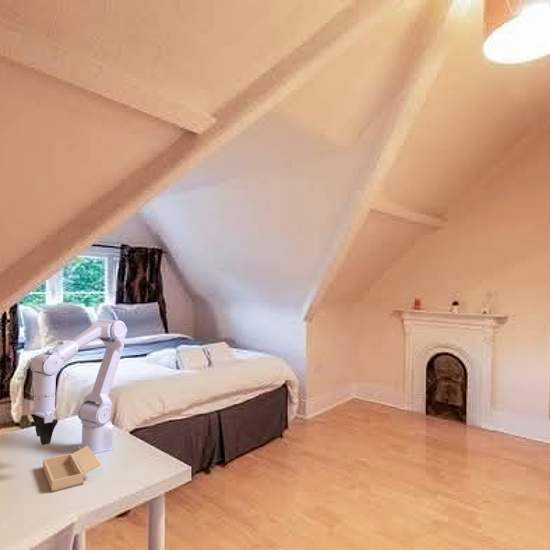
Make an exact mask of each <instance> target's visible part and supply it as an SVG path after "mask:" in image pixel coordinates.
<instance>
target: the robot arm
mask: <svg viewBox="0 0 550 550" xmlns="http://www.w3.org/2000/svg"><path fill="white" fill-rule="evenodd" d="M127 332H128V328H127V326H126V324H125V322H124V321H123V320H116V319H114V320H113V319H105V318H99V319H98V320H96V321H94V322H92V324H91V326H89V327H88V328H86V329H85V330H84V331H83V332H81V333H80V334H78V335H77V336H76V337H74V338H73V339H72V340H70V339H65V340H64V339H62V340H60V341H59V344H57V345H56V346H54V347H52V348H49V349H48V350H46V352H45V353H38V354H37V355H35V356H34V357H33V359H32V360H31V363H30V364H29V368H30V370H31V372H32V374H33V375H32V376H33V403H32V404H33V405H32V407H33V408H32V409H29V410H28V415H30V416H31V417H32V420H33V422H34V427H35V433H36V436H37V437H39V440H40V444H41V446H46V445H50V444H51V441H52V436H53V433H54V430H55V429H56V426H57V425H58V422H59V420H58V419H57V418H56V419H53V415H55V412H56V409H57V408H56V389H57V387H56V385H57V384H56V381H57V380H56V379H57V373H58V372H59V371H60V370H61V367H62V366H63V365H64V364H65V363H66V362H68V361H69V360H71V359H72V358H74V357H75V356H77V355H78V353H79V349H81V348H82V347H84V346H86V345H87V344H89V343H91V342H93V341H94V340H96V339H98V338H99V340H100V341H101V342H102V343H104V346H105V352H104V355H103V357H102V359H101V363H100V366H99V369H98V372H97V375H96V379H95V381H94V385H93V387H92V389H91V392H90V393H89V394H88V395H86V396H84V399H83V401H82V402H81V404H80V406H79V407H78V409H77V417H78V419H79V420H80V423H81V424H82V426H81V430H82V431H81V445H79V446H77V447H78V450H80V449H82V448H84V447H86V446H88V447H89V448H90V450H91V451H92V453H93V454H94V455H96V454H99V453H103V452H109V451H112V450H114V447H113V446H114V445H113V444H114V443H113V441H114V440H113V439H114V426H113V423H112V421H111V420H109V419H110V418H111V415H112V406H113V405H112V404H113V402H112V400H111V398H110V397H109V394H110V391H111V388H112V385H113V381H114V379H115V375H116V374H117V373H116V372H117V370H118V366H119V363H120V360H121V356H122V354H123V350H124V348H125V347H124V346H125V339H126V336H127Z"/></svg>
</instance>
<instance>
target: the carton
mask: <svg viewBox="0 0 550 550" xmlns="http://www.w3.org/2000/svg"><path fill="white" fill-rule="evenodd" d="M42 470H43V473H44V476H45V478H46V481H47V484H48V486H49V489H50V491H51V493H56V492H58V491H59V492H60V491H63V490H66V489H70V488H74V487H80V486H83V485H84V484H85V483H84V482H85V481H84V480H85V479H84V478H85V474H84V472H83V470H82V468H81V467H80V465H79V463H78V461H77V460H76V458H75V456H74V454H73V453H66V454H63V455H57V456H53V457H48V458H43V460H42Z"/></svg>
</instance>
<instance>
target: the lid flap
mask: <svg viewBox="0 0 550 550" xmlns="http://www.w3.org/2000/svg"><path fill="white" fill-rule="evenodd" d="M72 454H73V456H74V458H75V459H76V461H77V463H78V465H79V466H80V468H81V470H82V472H83V473H84V475H86V474H87V473H89V472H91V471H93V470H95V469H97V468H98V467H100V466H101V463H100V461H99V460H98V459H97V457H96V456H95V454H93V453H92V451H91V450H90V448H89V447H88V446H86V447H84V448H82V449H80V450H79V449H78V450H77V451H74V452H73V453H72Z"/></svg>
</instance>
